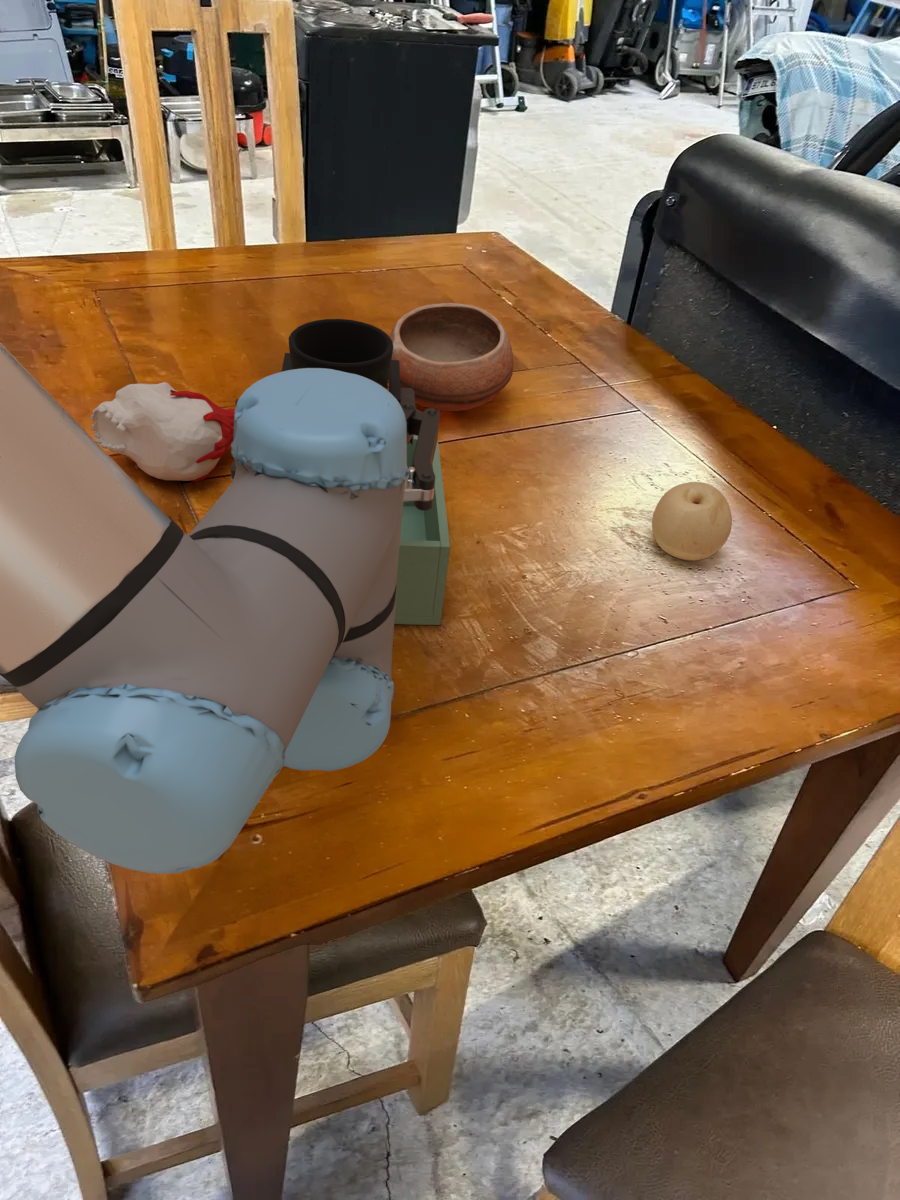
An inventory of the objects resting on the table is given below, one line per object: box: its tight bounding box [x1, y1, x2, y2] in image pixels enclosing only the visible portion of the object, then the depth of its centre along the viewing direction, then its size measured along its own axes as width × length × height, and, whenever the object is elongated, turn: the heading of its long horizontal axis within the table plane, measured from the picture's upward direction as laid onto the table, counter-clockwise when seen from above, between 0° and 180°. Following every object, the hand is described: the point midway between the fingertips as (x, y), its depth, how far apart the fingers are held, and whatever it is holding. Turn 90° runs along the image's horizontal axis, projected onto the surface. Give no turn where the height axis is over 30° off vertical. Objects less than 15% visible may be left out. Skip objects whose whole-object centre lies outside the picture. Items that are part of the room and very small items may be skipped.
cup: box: [288, 318, 394, 390], centre depth 69 cm, size 8×8×12 cm
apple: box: [651, 481, 733, 561], centre depth 90 cm, size 8×8×8 cm
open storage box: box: [394, 435, 451, 626], centre depth 82 cm, size 18×18×9 cm
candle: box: [90, 381, 235, 483], centre depth 92 cm, size 9×11×15 cm
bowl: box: [388, 302, 515, 412], centre depth 108 cm, size 16×16×10 cm
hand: (342, 372), depth 72 cm, fingers closed on cup, 8 cm apart
